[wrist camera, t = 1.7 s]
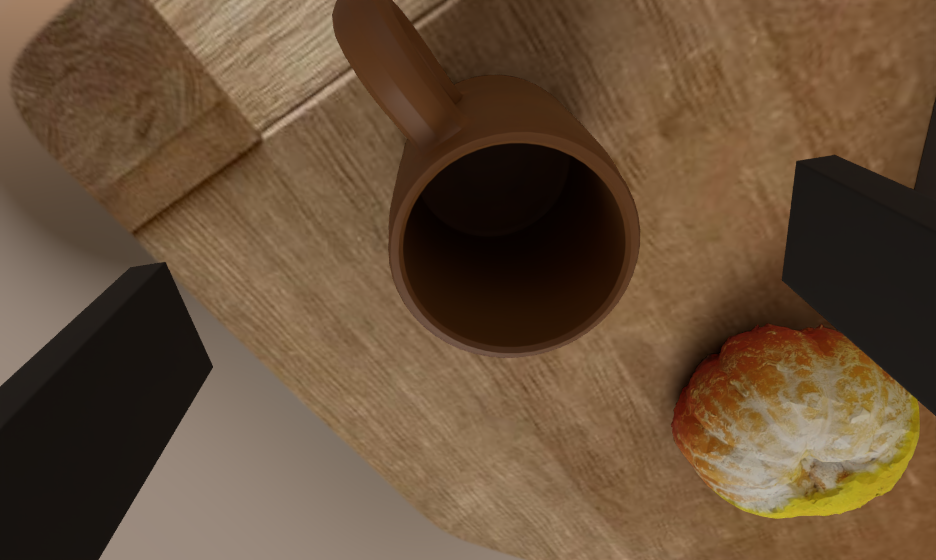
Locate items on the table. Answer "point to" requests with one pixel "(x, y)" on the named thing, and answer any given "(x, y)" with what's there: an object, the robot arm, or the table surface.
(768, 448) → the fruit
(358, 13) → the mug
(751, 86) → the table surface
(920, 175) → the scale
